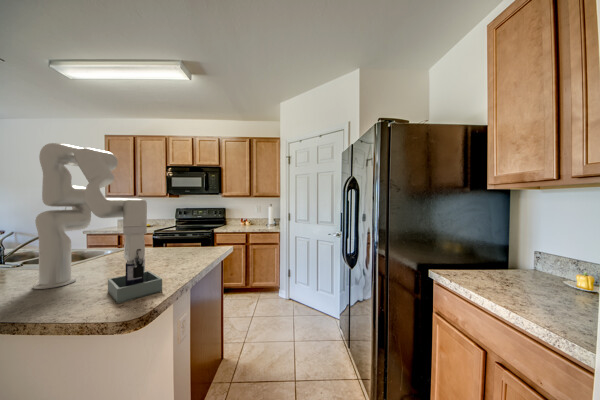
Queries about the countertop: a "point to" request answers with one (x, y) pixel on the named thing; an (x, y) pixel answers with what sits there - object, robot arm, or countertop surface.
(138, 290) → the box
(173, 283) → the countertop surface
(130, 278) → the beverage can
